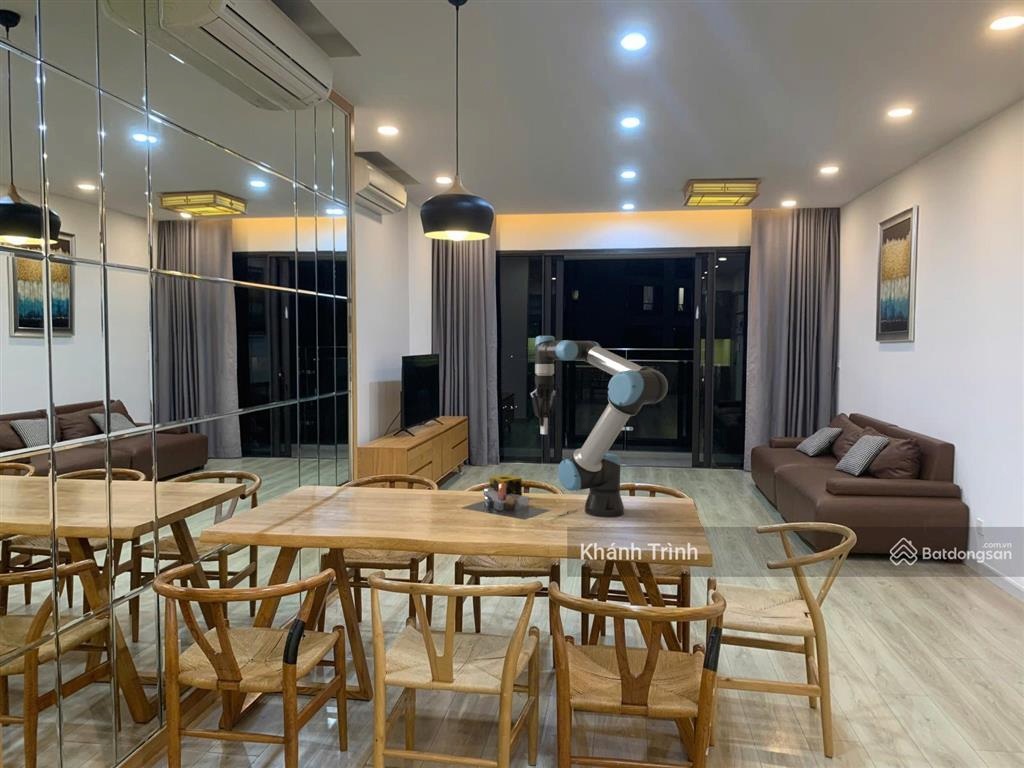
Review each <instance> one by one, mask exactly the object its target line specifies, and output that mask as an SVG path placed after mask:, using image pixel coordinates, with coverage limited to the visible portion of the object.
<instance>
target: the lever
mask: <svg viewBox="0 0 1024 768" xmlns="http://www.w3.org/2000/svg"><path fill="white" fill-rule="evenodd" d="M483 496H484V497H485V496H489V497H491V498H492V499H493V501H494V508H495V509H497V510H503V503H506V483H499V491H498V492H496V491H494V488H490V487H484V488H483Z"/></svg>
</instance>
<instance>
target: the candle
mask: <svg viewBox="0 0 1024 768" xmlns="http://www.w3.org/2000/svg"><path fill="white" fill-rule="evenodd" d="M522 481H523V478H522V477H518V476H516V475H511V474H503V475H495V476H490V477H489V488H494V491H496V492H498V491H499V483H506V495H507V494H516V495H522V496H523V491H522V490H523V489H522V487H523V485H522Z"/></svg>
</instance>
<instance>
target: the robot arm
mask: <svg viewBox="0 0 1024 768" xmlns="http://www.w3.org/2000/svg"><path fill="white" fill-rule="evenodd" d="M555 360H557V361H584V362H585V363H588V364H590V365H592V366H594V367H596V368H598V369H599V370H601V371H604V372H606V373H608V374H610V375H612V377H611V379H610V380H609V382H608V386H607V389H608V390H607V395H608V396H607V400H608V404H607V405H606V407H605V409H604V411H603V412H602V413H601V416H600V417H599V419H598V420H597V422H596V423H595V425H594V427H593V428H592V430H591V432H590V433H589V435H588V436H587V439H586V440H585V442H584V444H583V445H582V446H581V448H577V449H575V450H574V452H573V453H572V454H571V456H570V458H569V459H566V458H565V459H564V460H561V461H560V463H559V465H558V469H557V472H558V473H557V474H558V479H559V481H560V483H561V485H562V487H564V488H565V489H566V490H568V491H570V492H571V491H573V492H574V491H576V492H578V491H581V490H588V489H589V490H588V491H589V492H588V496H587V498H586V502H585V504H584V513H586V514H587V515H591V516H596V517H608V518H609V517H610V518H611V517H612V518H613V517H619V516H622V515H624V514H625V506H624V503H623V499H622V497H621V491H620V490H621V489H620V488H621V467H622V465H621V458H620V456H619V455H617V454H614V453H613V454H612V453H608V451H609V450H610V448H611V446H612V445H613V444H614V442H615V440H616V439H617V438H618V435H619V434H620V433H621V431H622V430H623V428H624V426H625V425H626V423H627V422H628V421H629V419H630V417H632V416H633V417H634V416H636V415H637V414H638V413H639V412H640V410H641V408H642V407H643V405H648V404H650V405H651V404H657V403H659V402H660V401H662V400H663V399H664V398H665V397H666V395H667V392H668V388H669V386H668V384H669V383H668V380H667V378H666V376H665V375H664V374H663V373H661V372H660V371H659V370H656V369H654V368H652V367H650V366H648V365H647V366H641V365H639V364H637V363H635V362H632V361H631V360H628V359H626V358H625V357H622V356H619V355H617V354H615V353H614V352H611V351H609V350H607V349H605V348H603V347H602V346H601V345H600V343H598V342H596V341H592V340H568V339H564V340H555V337H554V336H553V335H538V336H536V337H535V345H534V374H535V375H534V383H535V387H534V390H533V391H532V392H529V397H530V398H531V403H532V407H533V411H534V416H535V417H537V418H538V419H539V420H538V425H539V427H540V430H539V431H540V432H539V433H540V435H548V426H549V425H550V423H549V422H550V419H551V417H553V416H554V414H555V407H556V402H557V398H558V397H559V394H560V393H559V392H558V391H556V390H555V387H554V384H555V377H554V374H555Z"/></svg>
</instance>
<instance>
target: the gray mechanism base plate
mask: <svg viewBox="0 0 1024 768" xmlns="http://www.w3.org/2000/svg"><path fill="white" fill-rule="evenodd" d="M508 496H514V497H517V498H516V499H515V509H507V508H506V503H503V510H497V509H495V508H494V499H492V498H491V497H489V496H485V495H484V500H483V501H479V502H477V503H476V502H475V503H472V504H470V505H466V506H462V507H461V509H463V510H469V511H474V512H475V511H476V512H480V513H484V514H491V515H496V516H501V517H507V518H512V519H517V520H518V519H520V520H524V521H525V520H528V519H531V518H533V517H537V516H540V515H541V514H544V513H547V512H550V511H551V509H546V508H539V507H533V506H529V505H530V496H527V495H523V494H522V495H516V494H507V495H506V497H508Z"/></svg>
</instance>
